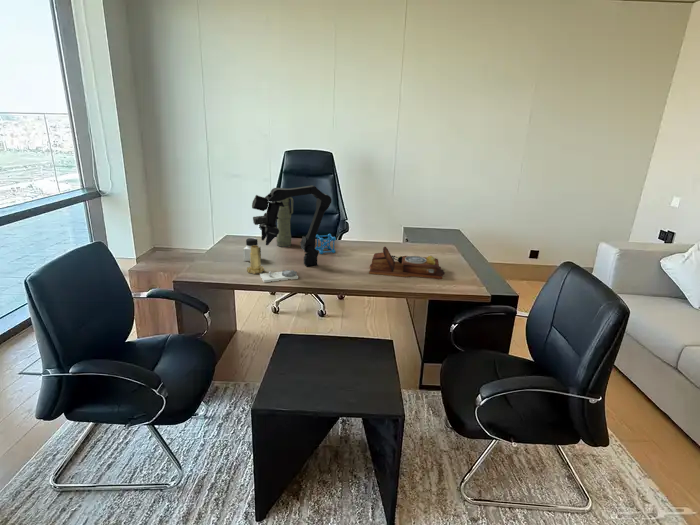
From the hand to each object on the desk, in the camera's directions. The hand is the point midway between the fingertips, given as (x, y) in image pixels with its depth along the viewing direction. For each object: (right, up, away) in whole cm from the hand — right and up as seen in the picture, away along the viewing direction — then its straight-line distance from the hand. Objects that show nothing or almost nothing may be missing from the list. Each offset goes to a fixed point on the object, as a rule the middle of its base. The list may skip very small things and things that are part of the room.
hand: (264, 242), depth 211 cm
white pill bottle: (-11, -9, +19) cm, 24 cm away
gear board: (+8, -17, -5) cm, 20 cm away
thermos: (+2, +1, +49) cm, 49 cm away
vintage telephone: (+74, -15, +14) cm, 77 cm away
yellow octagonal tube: (-5, -14, +2) cm, 15 cm away
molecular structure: (+28, -4, +39) cm, 48 cm away
